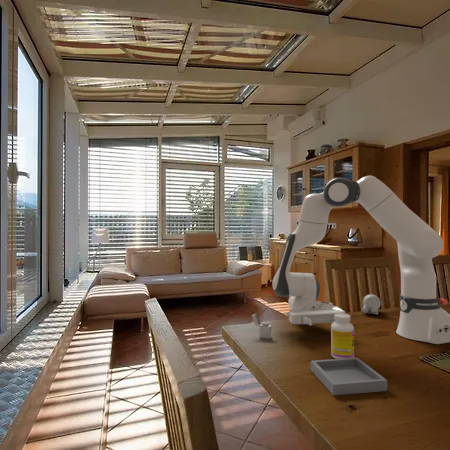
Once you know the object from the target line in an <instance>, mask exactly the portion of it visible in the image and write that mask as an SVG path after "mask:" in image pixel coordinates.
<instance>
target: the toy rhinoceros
mask: <svg viewBox="0 0 450 450" xmlns="http://www.w3.org/2000/svg"><path fill="white" fill-rule="evenodd" d="M381 304H382V303H381V299H380V297H378V296H377V295H375V294H372V293H371V294H367V295H365V296H364V297H363V299H362V305H363V307H362V312H363V313H365V314H367V313H368V315H370V314H372V315H374V314H375V315H376V316H378V315H379V309H380V307H381Z"/></svg>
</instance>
